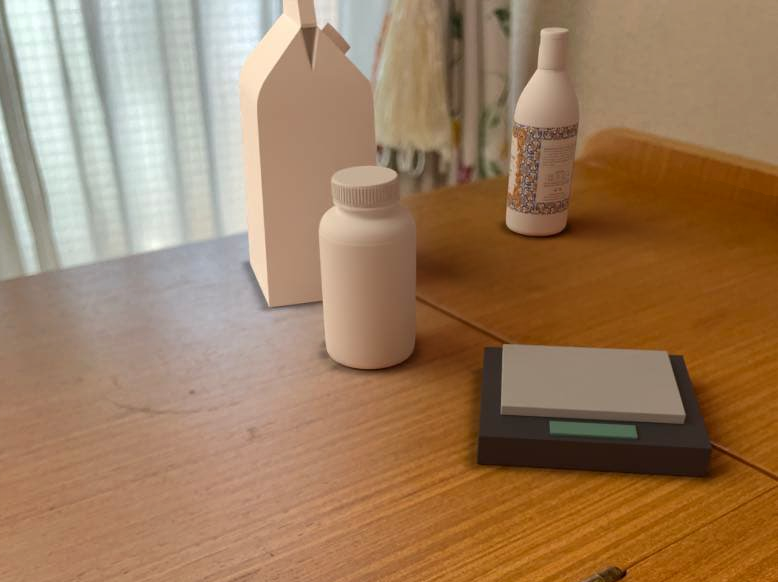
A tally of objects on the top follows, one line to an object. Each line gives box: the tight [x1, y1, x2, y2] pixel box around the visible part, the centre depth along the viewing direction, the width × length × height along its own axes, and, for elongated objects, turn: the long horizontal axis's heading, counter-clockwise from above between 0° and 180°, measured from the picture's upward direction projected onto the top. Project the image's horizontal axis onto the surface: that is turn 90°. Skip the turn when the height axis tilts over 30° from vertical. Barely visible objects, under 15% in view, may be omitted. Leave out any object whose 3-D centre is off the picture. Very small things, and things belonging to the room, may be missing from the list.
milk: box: [238, 0, 378, 308], centre depth 82 cm, size 12×12×26 cm
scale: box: [476, 343, 713, 478], centre depth 66 cm, size 16×14×3 cm
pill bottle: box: [319, 165, 417, 370], centre depth 72 cm, size 8×8×15 cm
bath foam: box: [505, 27, 580, 237], centre depth 95 cm, size 7×7×20 cm
